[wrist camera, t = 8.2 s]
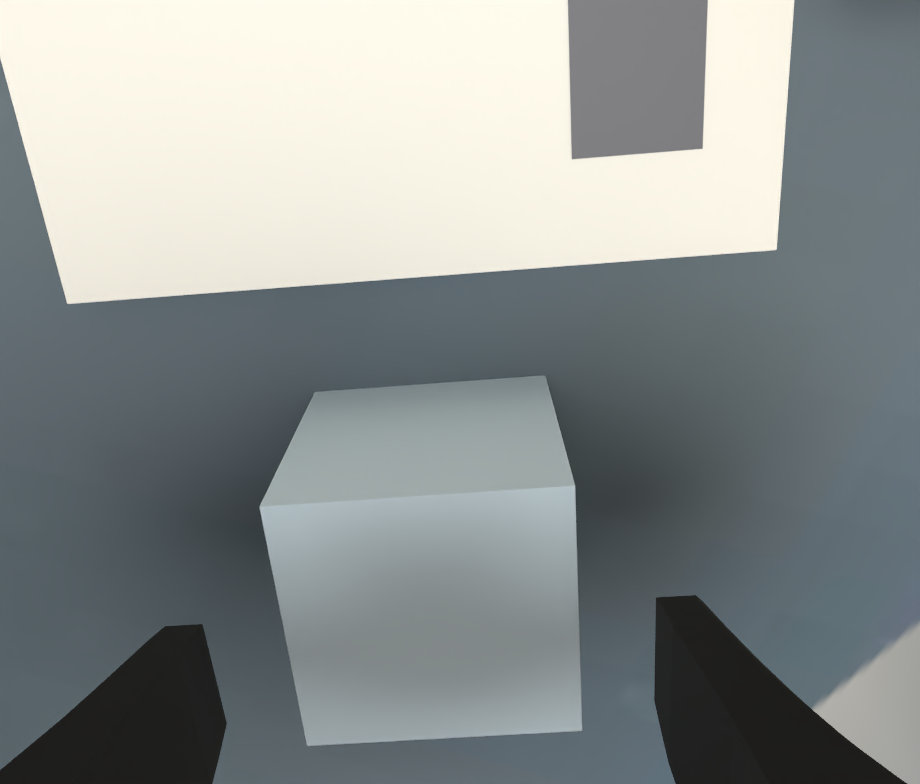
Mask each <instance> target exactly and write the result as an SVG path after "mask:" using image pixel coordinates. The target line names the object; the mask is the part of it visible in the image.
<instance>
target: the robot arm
mask: <svg viewBox="0 0 920 784" xmlns="http://www.w3.org/2000/svg"><path fill="white" fill-rule="evenodd" d="M654 701H655V705H656V710H657V714H658V719H659V723H660V728H661V732H662V736H663V741H664V745H665V749H666V753H667V758H668V762H669V765H670V768H671V771H672V774H673V777H674V780H675V783H676V784H907V783H905V782H904V781H902V780H901V779H900V778H898V777H897V776H895V775H894V774H893V773H891V772H890V771H888V770H887V769H886V768H885V767H883V766H882V765H881V764H879V763H878V762H876V761H875V760H874V759H872V758H871V757H870V756H868V755H867V754H866V753H864V752H863V751H862V750H860V749H859V748H858V747H856V746H855V745H854V744H852V743H851V742H850V741H849V740H847V739H846V738H845V737H844V736H842V735H841V734H840V733H839V732H837V731H836V730H835V729H834V728H833V727H832V726H831V725H829V724H828V723H827V722H826V721H825V720H824V719H822V718H821V717H820V716H819V715H818V714H817V713H815V712H814V711H813V710H812V709H811V708H810V707H808V706H807V705H806V704H805V703H804V702H803V701H802V700H801V699H800V698H798V697H797V696H796V695H795V694H794V693H793V692H792V691H791V690H790V689H789V688H788V687H787V686H786V685H784V684H783V683H782V682H781V681H780V680H779V679H778V678H777V677H776V676H775V675H774V674H773V673H772V672H771V671H770V670H769V669H768V668H767V667H765V666H764V665H763V664H762V663H761V662H760V661H759V660H758V659H757V658H756V657H755V656H754V655H753V654H752V653H751V652H750V651H749V650H748V649H747V648H746V647H745V646H744V645H743V644H742V642H741V641H740V640H739V639H738V638H737V637H736V636H735V635H734V634H733V633H732V632H731V631H730V630H729V629H728V628H727V627H726V626H725V625H724V624H723V623H722V622H721V621H720V620H719V618H718V617H717V616H716V615H715V614H714V613H713V612H712V611H711V610H710V609H709V608H708V607H707V606H706V605H705V604H704V602H703V601H701V600H700V599H699V598H698V597H697V596H696V595H693V596H676V597H659V598H656V641H655V699H654ZM226 724H227V723H226V719H225V715H224V711H223V707H222V702H221V698H220V694H219V690H218V686H217V682H216V678H215V674H214V670H213V666H212V662H211V658H210V654H209V649H208V645H207V641H206V637H205V633H204V629H203V625H202V624H199V625H182V626H165V627H164V628H163V629H161V630H160V631H159V632H158V633H157V634H155V635H154V636H153V637H152V638H151V639H150V640H149V641H147V642H146V643H145V644H144V645H143V646H142V647H141V648H140V649H139V650H138V651H136V652H135V653H134V654H133V655H132V656H131V657H130V658H129V659H128V660H127V661H125V662H124V663H123V664H122V665H121V666H120V667H119V668H118V669H117V670H116V671H115V672H114V673H112V674H111V675H110V676H109V677H108V678H107V679H106V680H105V681H104V682H103V683H101V684H100V685H99V686H98V687H97V688H96V689H95V690H94V691H93V692H91V693H90V694H89V695H88V696H87V697H86V698H85V699H84V700H83V701H81V702H80V703H79V704H78V705H77V706H76V707H75V708H74V709H73V710H71V711H70V712H69V713H68V714H67V715H66V716H65V717H64V718H62V719H61V720H60V721H59V722H58V723H56V724H55V725H54V726H53V727H52V728H50V729H49V730H48V731H47V732H46V733H44V734H43V735H42V736H41V737H40V738H38V739H37V740H36V741H35V742H34V743H32V744H31V745H30V746H29V747H28V748H26V749H25V750H24V751H23V752H22V753H20V754H19V755H18V756H17V757H16V758H14V759H13V760H12V761H11V762H10V763H8V764H7V765H6V766H5V767H4V768H2V769H1V770H0V784H212V782H213V778H214V774H215V771H216V767H217V763H218V759H219V755H220V750H221V746H222V742H223V737H224V733H225V728H226Z"/></svg>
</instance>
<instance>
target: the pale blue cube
mask: <svg viewBox="0 0 920 784" xmlns="http://www.w3.org/2000/svg"><path fill="white" fill-rule="evenodd" d="M260 512H261V517H262V522H263V527H264V532H265V537H266V542H267V547H268V552H269V557H270V562H271V567H272V572H273V577H274V582H275V587H276V592H277V597H278V602H279V607H280V612H281V618H282V623H283V628H284V633H285V638H286V643H287V648H288V653H289V658H290V663H291V668H292V673H293V678H294V683H295V688H296V693H297V698H298V703H299V708H300V713H301V718H302V723H303V728H304V733H305V738H306V743H307V746H314V745H332V744H350V743H368V742H386V741H404V740H422V739H440V738H458V737H476V736H494V735H512V734H530V733H548V732H566V731H582V713H581V678H580V642H579V607H578V572H577V536H576V501H575V484H574V480H573V476H572V472H571V469H570V465H569V461H568V458H567V454H566V450H565V447H564V443H563V439H562V435H561V432H560V428H559V424H558V421H557V417H556V413H555V409H554V406H553V402H552V398H551V395H550V391H549V387H548V384H547V380H546V376H545V375H544V376H530V377H516V378H502V379H488V380H474V381H460V382H447V383H433V384H419V385H405V386H391V387H377V388H363V389H350V390H336V391H322V392H315V393H314V395H313V397H312V399H311V401H310V403H309V405H308V407H307V409H306V411H305V413H304V416H303V418H302V420H301V422H300V424H299V426H298V428H297V430H296V432H295V434H294V436H293V438H292V440H291V442H290V444H289V447H288V449H287V451H286V453H285V455H284V457H283V459H282V461H281V463H280V465H279V467H278V469H277V471H276V473H275V476H274V478H273V480H272V482H271V484H270V486H269V488H268V490H267V492H266V494H265V496H264V498H263V500H262V502H261V504H260Z"/></svg>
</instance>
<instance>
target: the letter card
mask: <svg viewBox="0 0 920 784" xmlns="http://www.w3.org/2000/svg"><path fill="white" fill-rule="evenodd" d="M793 11H794V0H0V58H1V62H2V66H3V69H4V73H5V77H6V80H7V84H8V88H9V91H10V95H11V99H12V102H13V106H14V110H15V113H16V117H17V121H18V124H19V128H20V132H21V135H22V139H23V143H24V146H25V150H26V154H27V157H28V161H29V165H30V168H31V172H32V176H33V179H34V183H35V187H36V190H37V194H38V198H39V201H40V205H41V209H42V212H43V216H44V220H45V223H46V227H47V231H48V234H49V238H50V242H51V245H52V249H53V253H54V256H55V260H56V264H57V268H58V271H59V275H60V279H61V282H62V286H63V290H64V293H65V297H66V301H67V304H73V303H86V302H99V301H112V300H125V299H138V298H151V297H164V296H178V295H191V294H204V293H217V292H230V291H243V290H256V289H270V288H283V287H296V286H309V285H322V284H335V283H348V282H361V281H375V280H388V279H401V278H414V277H427V276H440V275H453V274H467V273H480V272H493V271H506V270H519V269H532V268H545V267H558V266H572V265H585V264H598V263H611V262H624V261H637V260H650V259H663V258H677V257H690V256H703V255H716V254H729V253H742V252H755V251H769V250H777V236H778V221H779V207H780V193H781V179H782V165H783V151H784V137H785V123H786V109H787V95H788V81H789V67H790V53H791V39H792V25H793Z"/></svg>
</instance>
